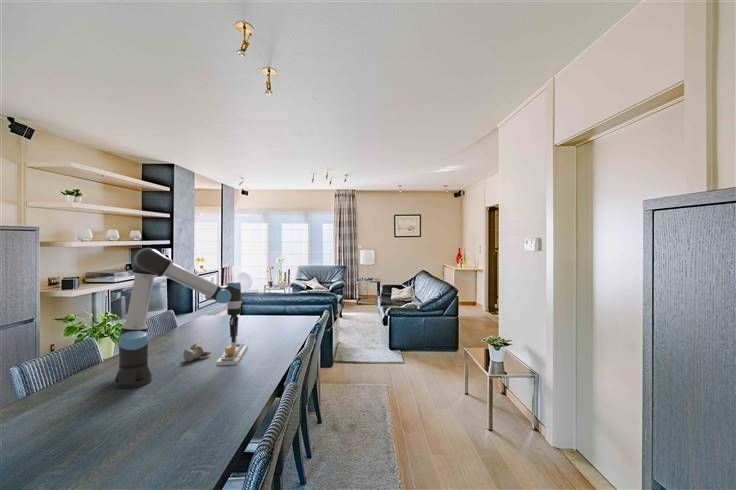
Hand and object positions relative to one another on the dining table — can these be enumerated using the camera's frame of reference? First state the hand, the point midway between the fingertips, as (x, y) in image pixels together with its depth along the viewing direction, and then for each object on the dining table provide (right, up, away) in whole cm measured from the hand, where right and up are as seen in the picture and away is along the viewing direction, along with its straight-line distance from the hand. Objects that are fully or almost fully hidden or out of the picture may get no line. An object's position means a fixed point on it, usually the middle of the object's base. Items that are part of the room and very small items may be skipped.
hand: (233, 347), depth 209 cm
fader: (+1, -3, -7) cm, 8 cm away
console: (0, -5, -1) cm, 5 cm away
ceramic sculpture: (-20, -5, -6) cm, 22 cm away
